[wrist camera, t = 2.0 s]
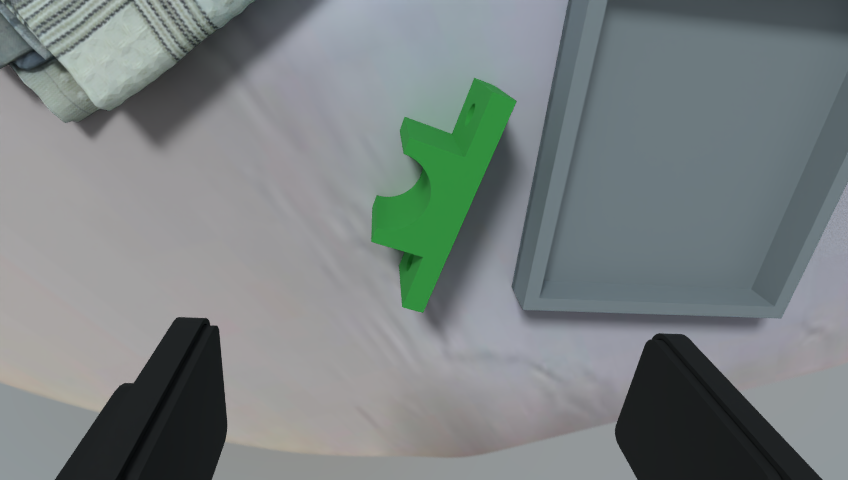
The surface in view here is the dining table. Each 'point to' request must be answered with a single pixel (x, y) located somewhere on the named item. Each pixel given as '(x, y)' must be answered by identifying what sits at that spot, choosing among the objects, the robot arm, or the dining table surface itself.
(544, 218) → the tray
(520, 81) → the dining table surface
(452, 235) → the pipe clamp
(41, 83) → the dish towel
